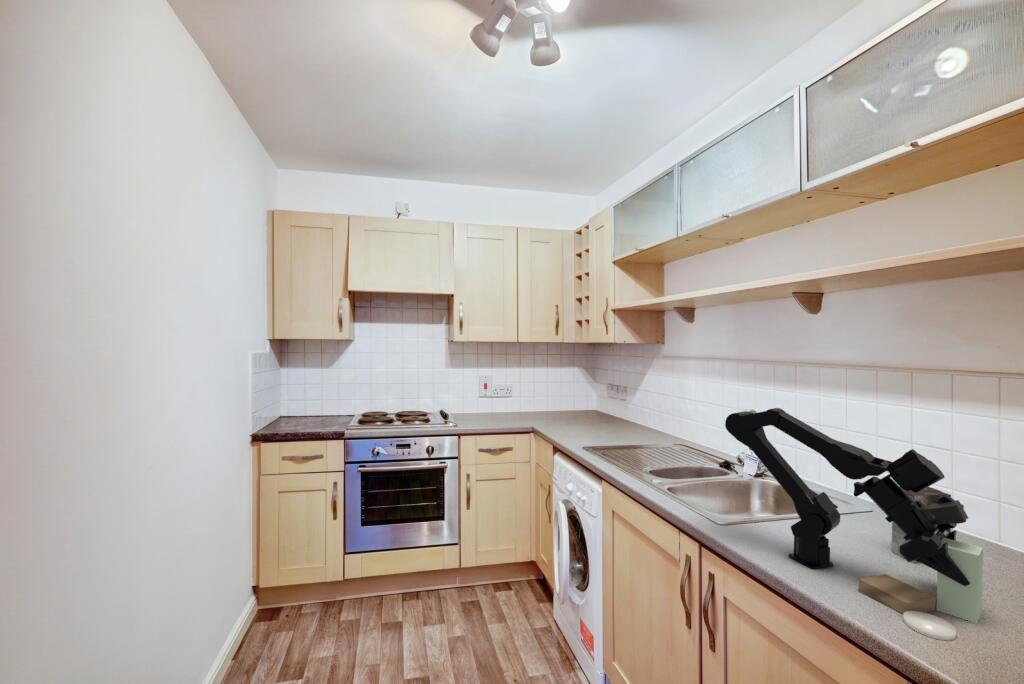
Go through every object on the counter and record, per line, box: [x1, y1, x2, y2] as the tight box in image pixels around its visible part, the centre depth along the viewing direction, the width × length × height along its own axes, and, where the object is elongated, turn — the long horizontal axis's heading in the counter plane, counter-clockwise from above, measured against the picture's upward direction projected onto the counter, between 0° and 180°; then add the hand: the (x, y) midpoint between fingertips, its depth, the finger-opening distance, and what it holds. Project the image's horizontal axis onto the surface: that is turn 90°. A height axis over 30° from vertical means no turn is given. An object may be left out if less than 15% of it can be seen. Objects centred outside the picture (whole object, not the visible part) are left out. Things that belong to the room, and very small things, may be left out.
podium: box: [857, 573, 936, 615], centre depth 91 cm, size 9×8×2 cm
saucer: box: [902, 611, 957, 642], centre depth 82 cm, size 7×7×1 cm
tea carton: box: [936, 538, 984, 625], centre depth 88 cm, size 6×6×12 cm
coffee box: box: [890, 485, 952, 564], centre depth 110 cm, size 9×6×16 cm
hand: (970, 580), depth 87 cm, fingers closed on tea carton, 5 cm apart
